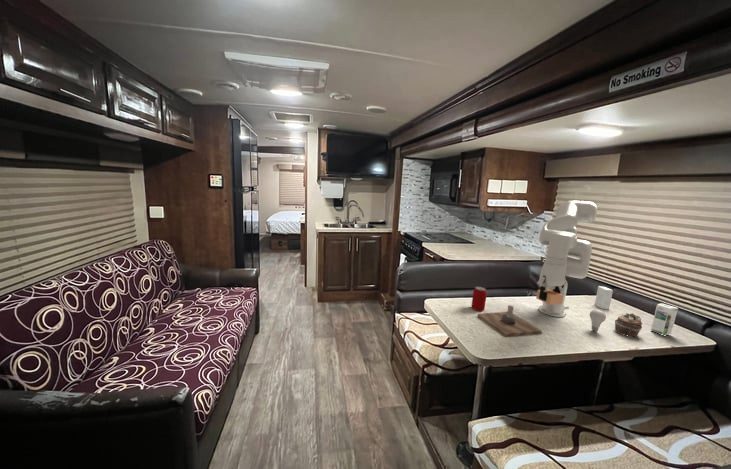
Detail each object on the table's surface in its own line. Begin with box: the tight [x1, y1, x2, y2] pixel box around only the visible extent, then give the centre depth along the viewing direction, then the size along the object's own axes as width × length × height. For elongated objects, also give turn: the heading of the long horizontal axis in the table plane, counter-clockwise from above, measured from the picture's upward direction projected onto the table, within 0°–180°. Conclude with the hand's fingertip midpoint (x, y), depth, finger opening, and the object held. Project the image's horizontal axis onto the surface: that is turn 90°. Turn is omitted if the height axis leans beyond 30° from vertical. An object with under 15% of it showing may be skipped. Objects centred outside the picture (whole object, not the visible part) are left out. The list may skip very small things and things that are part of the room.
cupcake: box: [614, 312, 643, 337], centre depth 137 cm, size 10×10×10 cm
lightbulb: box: [589, 308, 607, 332], centre depth 137 cm, size 6×6×11 cm
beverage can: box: [471, 286, 488, 312], centre depth 154 cm, size 7×7×12 cm
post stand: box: [476, 304, 543, 338], centre depth 138 cm, size 20×20×10 cm
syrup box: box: [650, 303, 679, 336], centre depth 139 cm, size 6×6×14 cm
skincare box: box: [594, 285, 614, 310], centre depth 168 cm, size 6×4×12 cm
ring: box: [535, 289, 564, 305], centre depth 127 cm, size 7×7×4 cm
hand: (549, 298), depth 127 cm, fingers closed on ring, 7 cm apart
